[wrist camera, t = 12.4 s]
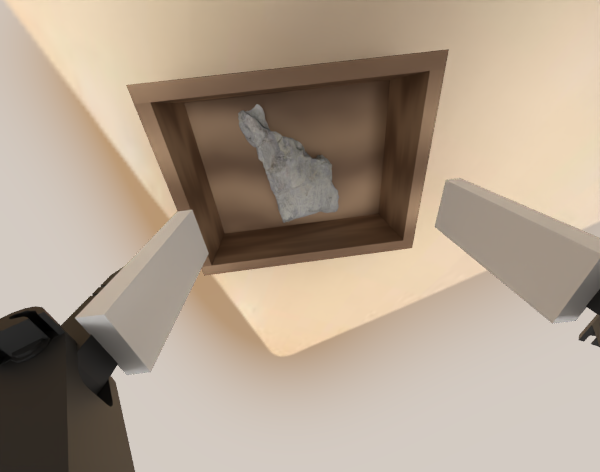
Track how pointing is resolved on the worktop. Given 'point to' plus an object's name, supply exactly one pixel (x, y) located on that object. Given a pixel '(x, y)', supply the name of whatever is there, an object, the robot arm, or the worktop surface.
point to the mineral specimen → (290, 169)
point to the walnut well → (316, 140)
